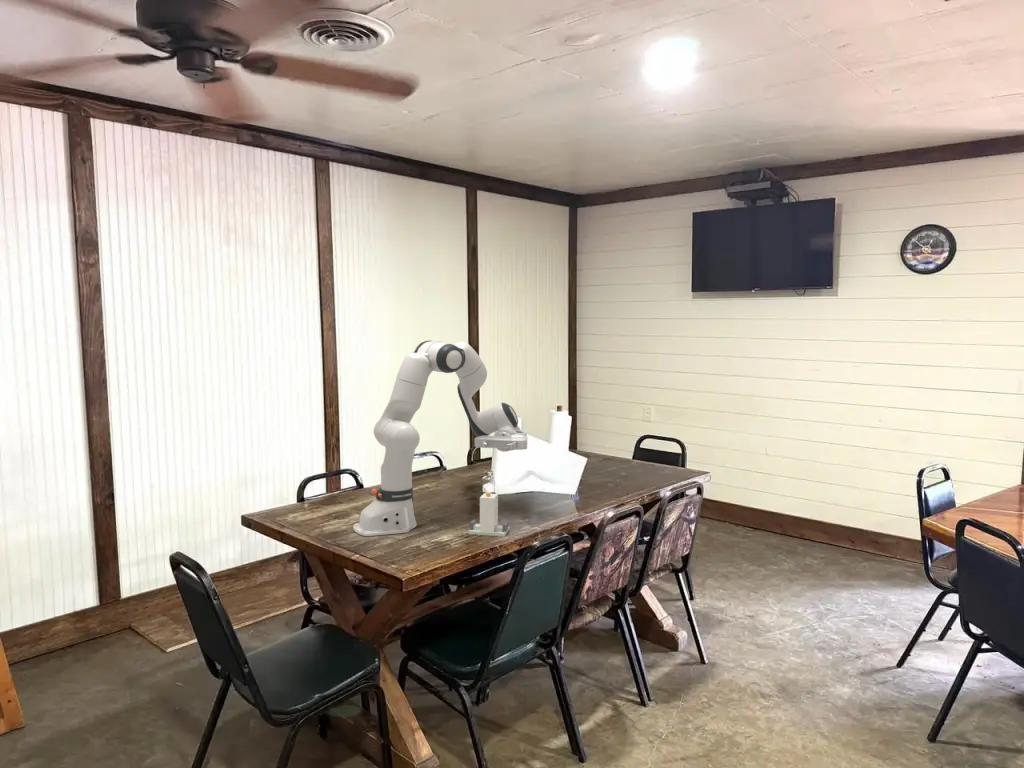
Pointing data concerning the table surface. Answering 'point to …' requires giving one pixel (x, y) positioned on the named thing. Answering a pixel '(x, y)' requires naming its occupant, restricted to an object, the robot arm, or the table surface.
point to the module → (488, 512)
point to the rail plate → (498, 531)
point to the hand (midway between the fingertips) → (497, 446)
